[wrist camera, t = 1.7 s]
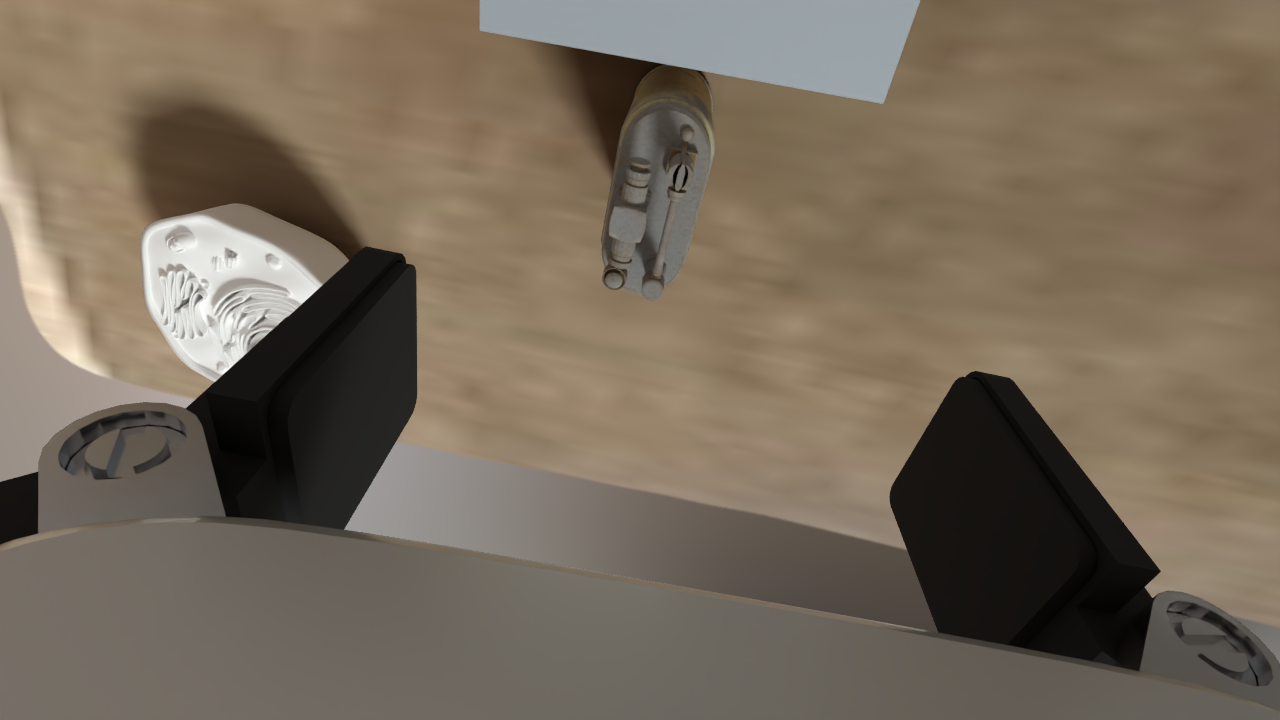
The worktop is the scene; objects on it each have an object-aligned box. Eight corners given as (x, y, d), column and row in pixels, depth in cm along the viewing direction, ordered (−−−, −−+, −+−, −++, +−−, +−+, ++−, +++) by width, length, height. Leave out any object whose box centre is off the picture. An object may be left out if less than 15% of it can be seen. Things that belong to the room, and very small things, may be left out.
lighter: (642, 53, 26) (617, 103, 18) (729, 74, 26) (744, 133, 18) (612, 212, 30) (580, 312, 22) (688, 229, 30) (685, 335, 22)
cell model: (302, 141, 29) (209, 187, 24) (447, 339, 35) (400, 414, 29) (160, 222, 32) (46, 280, 27) (315, 392, 38) (248, 469, 32)
